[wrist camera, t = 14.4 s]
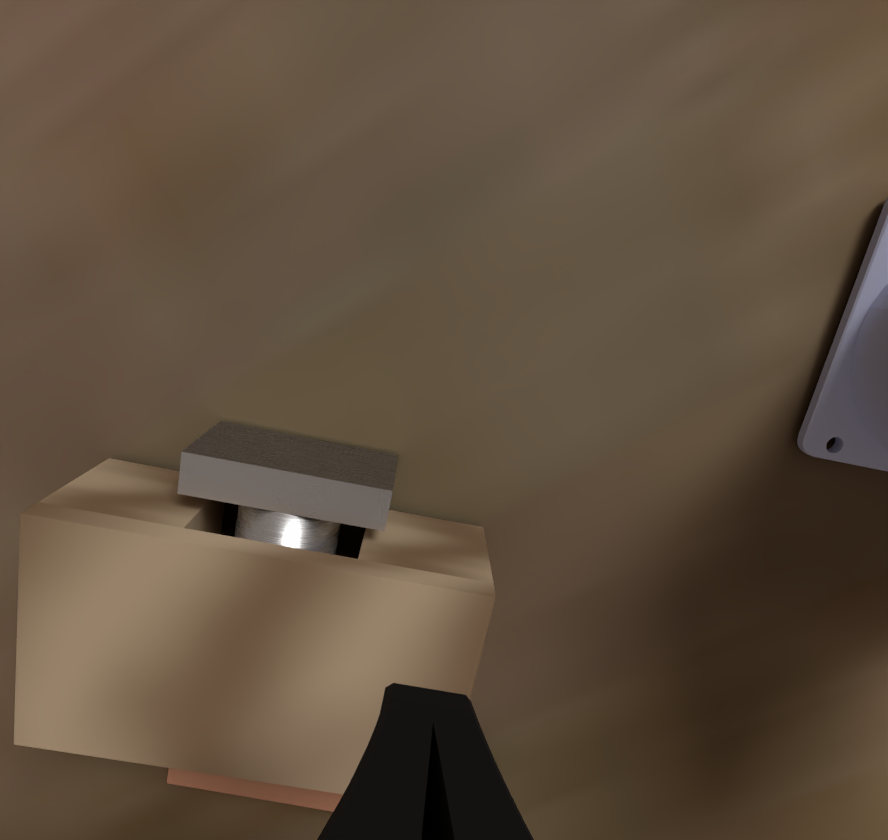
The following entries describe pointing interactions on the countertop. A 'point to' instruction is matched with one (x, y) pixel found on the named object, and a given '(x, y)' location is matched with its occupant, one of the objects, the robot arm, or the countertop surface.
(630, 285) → the countertop surface
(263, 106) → the countertop surface
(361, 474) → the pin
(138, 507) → the block
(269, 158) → the countertop surface
